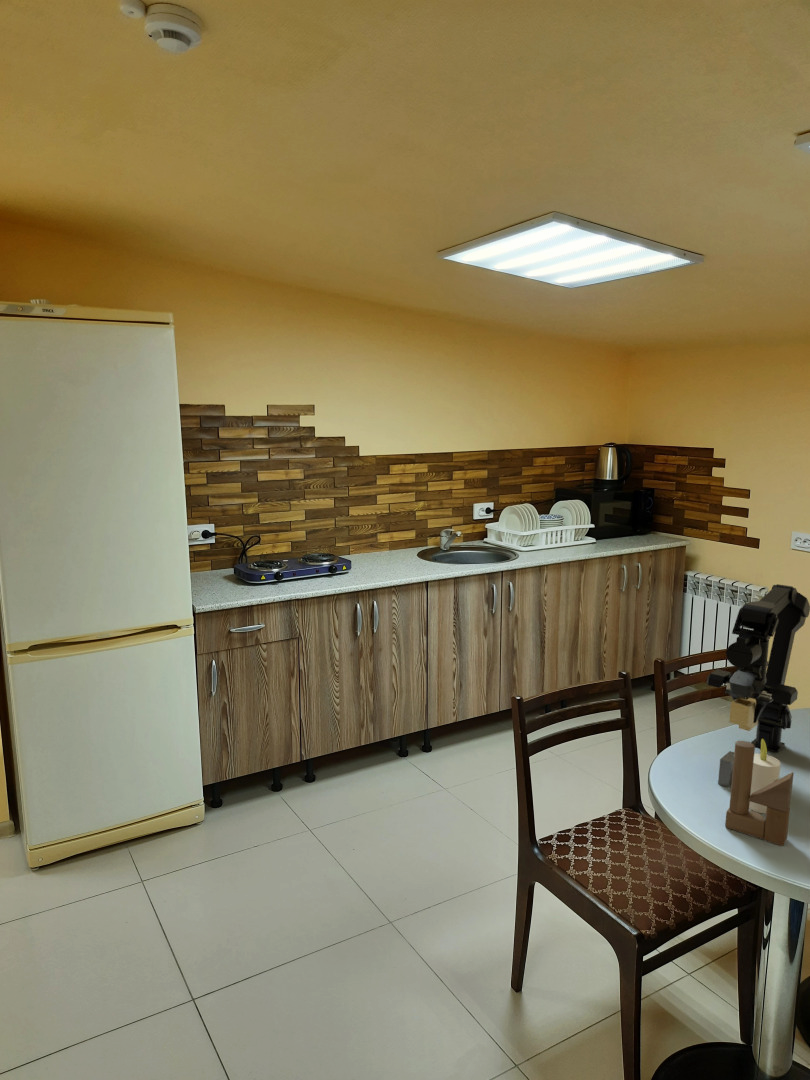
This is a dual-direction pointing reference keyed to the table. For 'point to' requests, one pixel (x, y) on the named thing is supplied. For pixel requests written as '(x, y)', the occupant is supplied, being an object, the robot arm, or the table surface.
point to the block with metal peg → (726, 769)
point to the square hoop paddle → (743, 713)
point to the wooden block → (758, 800)
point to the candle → (763, 774)
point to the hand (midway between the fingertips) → (747, 720)
